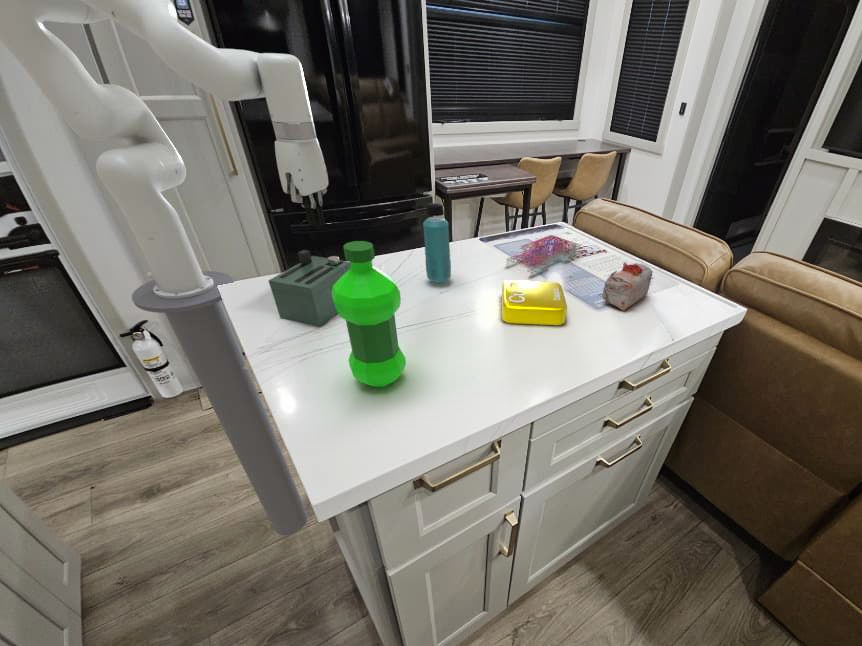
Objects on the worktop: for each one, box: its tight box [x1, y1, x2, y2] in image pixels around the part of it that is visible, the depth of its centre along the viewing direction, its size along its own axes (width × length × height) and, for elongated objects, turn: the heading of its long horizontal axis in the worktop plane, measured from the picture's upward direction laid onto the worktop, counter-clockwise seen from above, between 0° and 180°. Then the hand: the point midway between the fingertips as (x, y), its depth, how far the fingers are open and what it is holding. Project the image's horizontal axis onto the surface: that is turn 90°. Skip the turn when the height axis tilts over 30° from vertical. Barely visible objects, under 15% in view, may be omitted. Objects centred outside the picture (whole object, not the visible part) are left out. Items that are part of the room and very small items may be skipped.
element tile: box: [501, 279, 568, 326], centre depth 101 cm, size 15×15×5 cm
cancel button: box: [327, 255, 340, 267], centre depth 95 cm, size 2×2×2 cm
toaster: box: [268, 255, 351, 327], centre depth 94 cm, size 10×15×9 cm, turn 166°
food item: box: [601, 261, 654, 311], centre depth 107 cm, size 14×8×10 cm, turn 140°
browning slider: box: [297, 249, 312, 265], centre depth 93 cm, size 2×2×2 cm
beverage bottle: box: [422, 202, 452, 283], centre depth 105 cm, size 6×7×20 cm
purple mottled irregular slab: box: [505, 234, 583, 278], centre depth 128 cm, size 30×15×5 cm, turn 140°
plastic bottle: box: [331, 240, 407, 388], centre depth 70 cm, size 10×10×25 cm
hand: (317, 224), depth 95 cm, fingers closed
